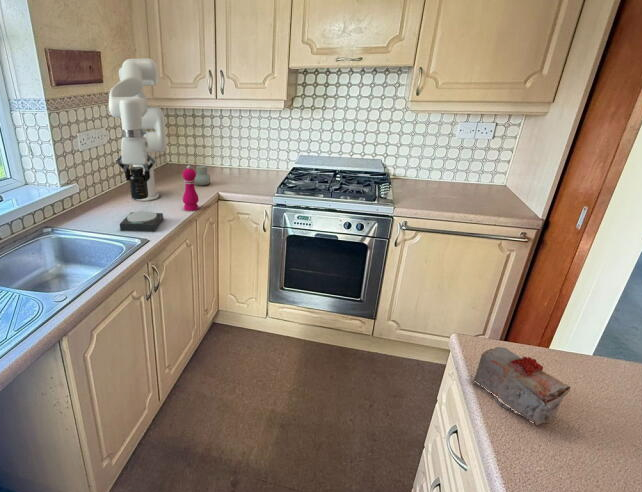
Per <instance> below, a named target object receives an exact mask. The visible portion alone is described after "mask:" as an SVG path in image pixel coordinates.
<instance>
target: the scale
mask: <svg viewBox="0 0 642 492" xmlns="http://www.w3.org/2000/svg"><path fill="white" fill-rule="evenodd" d="M163 221H164V213H163V212H153V211H145V210H143V211H136V212H134V211H133V212H132V211H131V212H130V213H129V214H127V216H125V218H124V219H122V220H121V222H120V223H119V229H120V231H121V232H144V233H145V232H146V233H147V232H149V233H155V231H156V230H157V229H158V227H160V225H161V223H162V222H163Z"/></svg>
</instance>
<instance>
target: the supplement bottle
mask: <svg viewBox="0 0 642 492" xmlns="http://www.w3.org/2000/svg"><path fill="white" fill-rule="evenodd" d="M143 172H144V171H143V167H133V166H132V167H130V173H131V175H130V176H129V181H128V182H129V188H130V196H131V198H132V199H133V200H135V199H137V200H136V201H139V200H140V199H145V198H147V197H148V186H147V181H145V174H143Z"/></svg>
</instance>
